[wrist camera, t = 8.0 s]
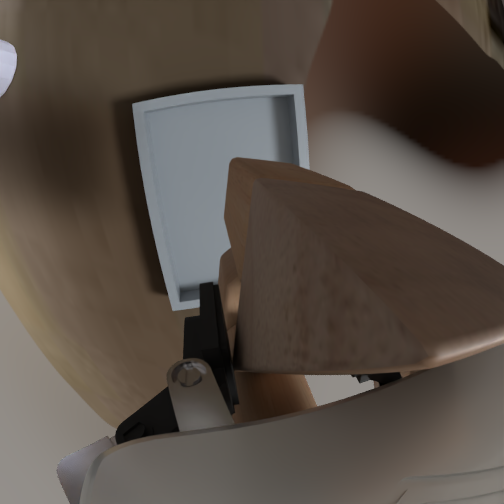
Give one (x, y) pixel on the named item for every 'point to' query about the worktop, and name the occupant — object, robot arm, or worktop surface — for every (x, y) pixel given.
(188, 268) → the tray
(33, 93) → the worktop surface
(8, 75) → the soap bottle
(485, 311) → the wooden mallet
